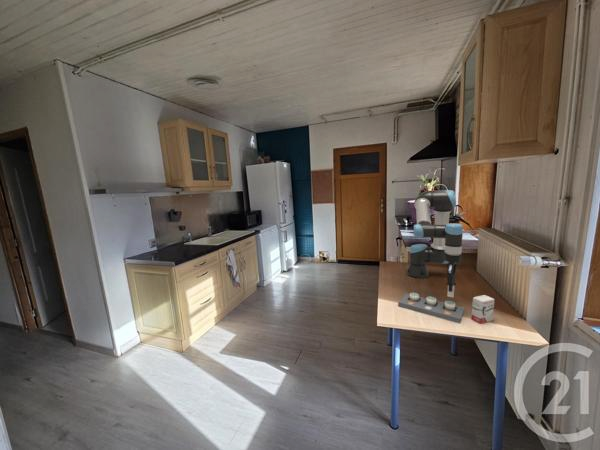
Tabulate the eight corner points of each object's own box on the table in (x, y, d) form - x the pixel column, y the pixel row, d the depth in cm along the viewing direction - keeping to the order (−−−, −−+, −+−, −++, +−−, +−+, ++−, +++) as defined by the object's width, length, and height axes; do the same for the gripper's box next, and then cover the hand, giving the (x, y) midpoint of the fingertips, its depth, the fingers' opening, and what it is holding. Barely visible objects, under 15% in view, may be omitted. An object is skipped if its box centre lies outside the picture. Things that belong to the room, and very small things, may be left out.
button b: (427, 300, 139) (427, 295, 139) (436, 303, 136) (437, 297, 136) (425, 304, 136) (425, 298, 135) (434, 306, 133) (435, 300, 132)
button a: (411, 296, 145) (411, 291, 145) (419, 298, 142) (419, 293, 142) (408, 299, 142) (408, 294, 141) (417, 302, 139) (417, 296, 138)
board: (406, 297, 150) (406, 293, 149) (464, 311, 130) (464, 307, 130) (398, 306, 139) (398, 301, 139) (460, 323, 120) (460, 318, 120)
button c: (445, 305, 134) (445, 299, 133) (455, 307, 130) (456, 301, 130) (443, 308, 130) (444, 302, 129) (454, 311, 127) (454, 305, 126)
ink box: (480, 324, 119) (482, 301, 117) (470, 319, 123) (472, 297, 122) (493, 320, 121) (495, 298, 119) (483, 315, 126) (485, 294, 124)
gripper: (446, 249, 133) (444, 290, 136) (441, 255, 123) (439, 299, 126) (463, 251, 128) (460, 294, 131) (459, 257, 118) (456, 303, 122)
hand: (450, 296), depth 129 cm, fingers closed
